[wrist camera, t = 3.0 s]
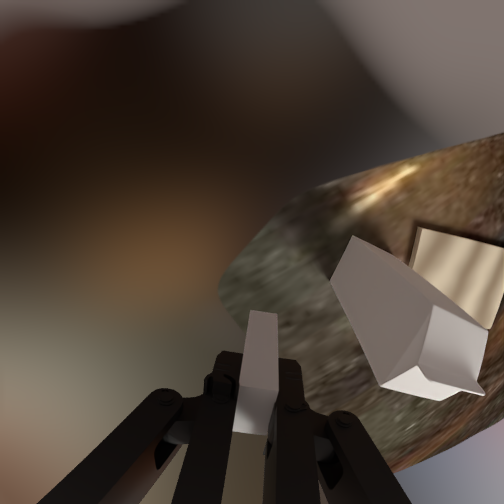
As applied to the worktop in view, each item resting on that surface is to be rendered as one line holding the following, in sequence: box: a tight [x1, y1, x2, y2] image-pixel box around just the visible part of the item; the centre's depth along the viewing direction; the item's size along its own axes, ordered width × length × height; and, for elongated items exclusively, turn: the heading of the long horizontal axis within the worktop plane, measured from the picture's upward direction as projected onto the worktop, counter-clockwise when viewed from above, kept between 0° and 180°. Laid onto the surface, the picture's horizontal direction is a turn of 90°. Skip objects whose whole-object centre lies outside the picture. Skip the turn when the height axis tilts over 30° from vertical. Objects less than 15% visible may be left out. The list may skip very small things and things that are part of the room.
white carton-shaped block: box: [330, 236, 488, 401], centre depth 23 cm, size 6×6×22 cm
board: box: [408, 227, 504, 329], centre depth 32 cm, size 18×12×1 cm, turn 82°
